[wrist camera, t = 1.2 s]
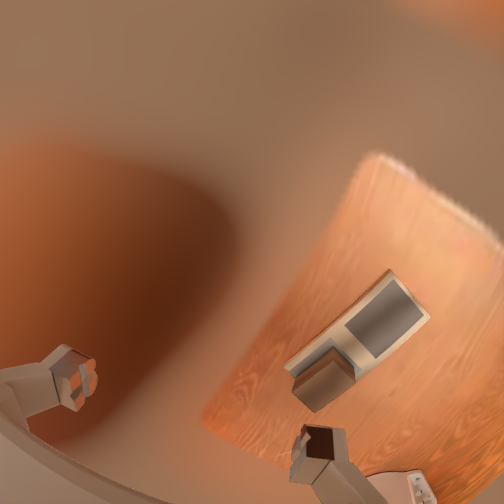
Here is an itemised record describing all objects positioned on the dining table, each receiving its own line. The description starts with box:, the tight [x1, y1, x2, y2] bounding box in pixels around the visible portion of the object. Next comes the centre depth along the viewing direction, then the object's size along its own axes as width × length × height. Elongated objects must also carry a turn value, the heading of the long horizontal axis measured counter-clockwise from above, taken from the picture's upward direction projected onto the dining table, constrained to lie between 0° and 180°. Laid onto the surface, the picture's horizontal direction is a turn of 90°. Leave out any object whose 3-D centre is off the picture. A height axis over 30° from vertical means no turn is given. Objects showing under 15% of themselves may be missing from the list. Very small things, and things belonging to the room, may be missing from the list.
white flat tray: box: [283, 269, 430, 382], centre depth 39 cm, size 9×20×2 cm, turn 135°
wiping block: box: [292, 346, 356, 413], centre depth 38 cm, size 4×7×5 cm, turn 135°
